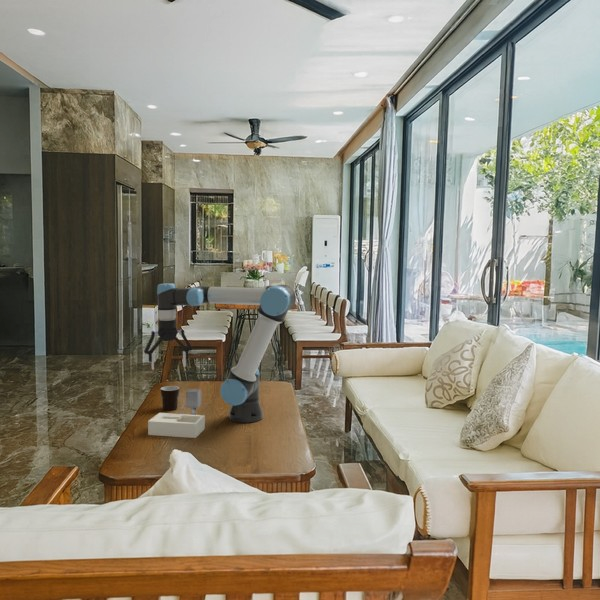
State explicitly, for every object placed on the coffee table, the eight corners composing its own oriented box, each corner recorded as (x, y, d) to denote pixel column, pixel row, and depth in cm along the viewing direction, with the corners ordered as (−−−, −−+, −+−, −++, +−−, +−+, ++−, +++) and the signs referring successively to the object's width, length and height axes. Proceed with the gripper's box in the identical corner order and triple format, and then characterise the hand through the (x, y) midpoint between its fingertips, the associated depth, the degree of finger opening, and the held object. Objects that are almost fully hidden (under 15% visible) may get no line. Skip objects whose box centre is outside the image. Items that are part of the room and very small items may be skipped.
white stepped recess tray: (204, 428, 235) (204, 415, 235) (195, 438, 223) (195, 424, 223) (159, 425, 238) (159, 412, 237) (148, 434, 226) (148, 421, 225)
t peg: (203, 419, 247) (204, 388, 246) (198, 424, 240) (199, 392, 239) (188, 418, 248) (188, 388, 247) (183, 423, 241) (183, 392, 240)
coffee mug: (174, 412, 257) (174, 391, 257) (157, 410, 259) (157, 389, 258) (184, 405, 269) (184, 385, 268) (168, 404, 270) (168, 384, 270)
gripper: (194, 316, 248) (195, 363, 250) (136, 320, 239) (138, 368, 241) (197, 318, 241) (199, 366, 243) (138, 321, 232) (140, 372, 234)
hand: (168, 367), depth 242 cm, fingers open, 13 cm apart
